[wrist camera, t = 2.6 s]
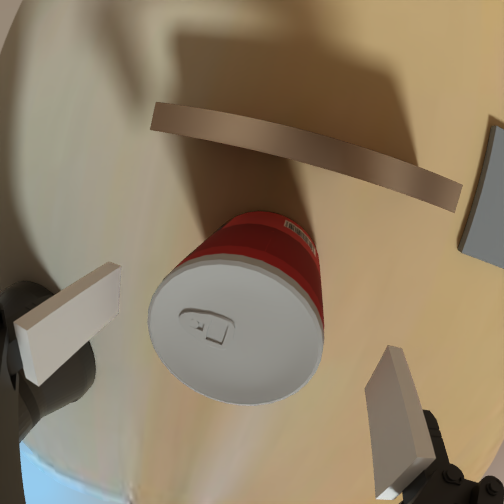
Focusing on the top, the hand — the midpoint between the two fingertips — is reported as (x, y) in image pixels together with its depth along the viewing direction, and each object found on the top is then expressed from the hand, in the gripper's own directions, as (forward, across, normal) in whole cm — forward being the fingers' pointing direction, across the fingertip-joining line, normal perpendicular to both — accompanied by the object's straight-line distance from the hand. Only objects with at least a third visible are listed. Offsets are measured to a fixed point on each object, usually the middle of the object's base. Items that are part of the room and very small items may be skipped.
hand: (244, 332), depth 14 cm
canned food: (+10, -1, 0) cm, 10 cm away
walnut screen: (+10, 0, +8) cm, 13 cm away
